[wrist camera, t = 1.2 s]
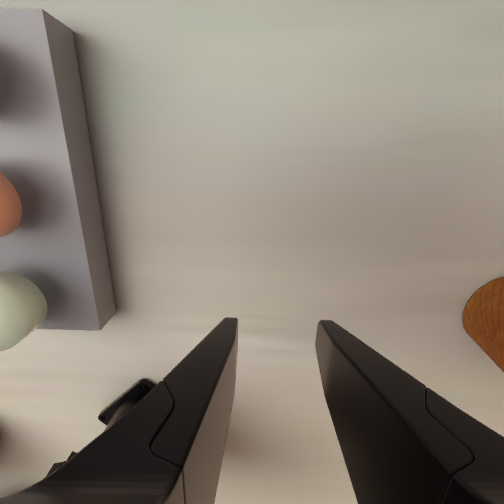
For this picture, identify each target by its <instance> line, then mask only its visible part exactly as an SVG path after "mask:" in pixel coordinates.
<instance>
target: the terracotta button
mask: <svg viewBox="0 0 504 504" xmlns="http://www.w3.org/2000/svg"><path fill="white" fill-rule="evenodd" d="M21 217H22V206H21V201H20V198H19V195H18V193H17V191H16V189H15V188H14V186H13V185H12V183H11V182H10V181H9V180H8V179H7V177H5V176H4V175H3V174H2V173H1V172H0V238H1V237H4V236H7V235H9V234H11V233H12V232H13V231H14V230H15V229H16V228H17V227H18V225H19V223H20V221H21Z"/></svg>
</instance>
